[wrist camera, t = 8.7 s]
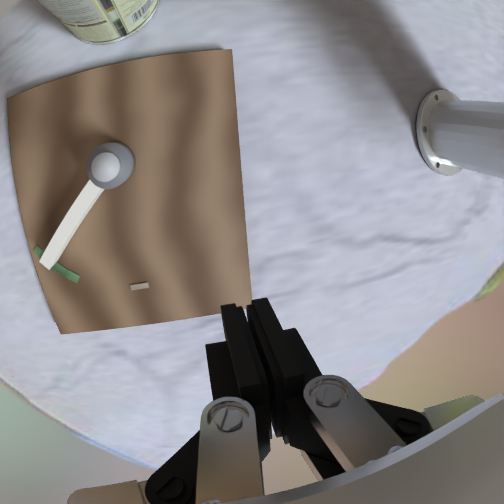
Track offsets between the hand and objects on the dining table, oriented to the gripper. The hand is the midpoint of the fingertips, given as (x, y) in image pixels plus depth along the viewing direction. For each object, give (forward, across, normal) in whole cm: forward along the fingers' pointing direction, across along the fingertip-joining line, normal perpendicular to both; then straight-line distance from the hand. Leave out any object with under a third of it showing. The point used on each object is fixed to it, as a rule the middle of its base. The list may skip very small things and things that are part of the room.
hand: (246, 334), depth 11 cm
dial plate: (+22, +8, -2) cm, 23 cm away
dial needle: (+20, +12, -3) cm, 23 cm away
